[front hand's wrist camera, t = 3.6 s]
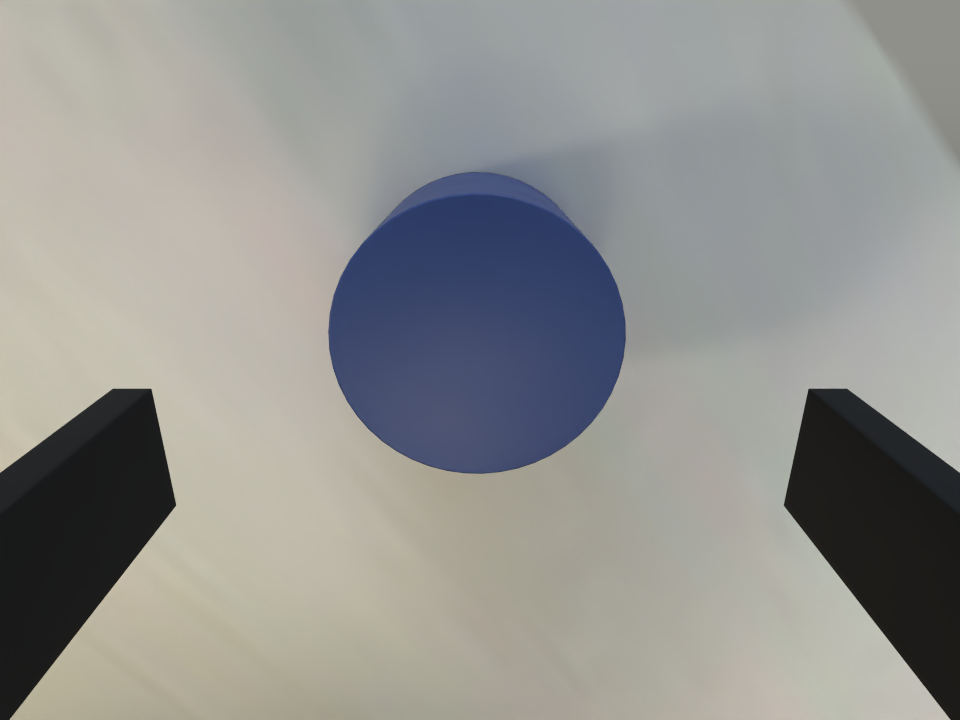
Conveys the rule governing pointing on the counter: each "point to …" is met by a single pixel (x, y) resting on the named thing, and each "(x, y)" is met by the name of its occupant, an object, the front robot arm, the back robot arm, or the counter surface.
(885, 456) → the front robot arm
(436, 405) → the canister
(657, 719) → the counter surface
